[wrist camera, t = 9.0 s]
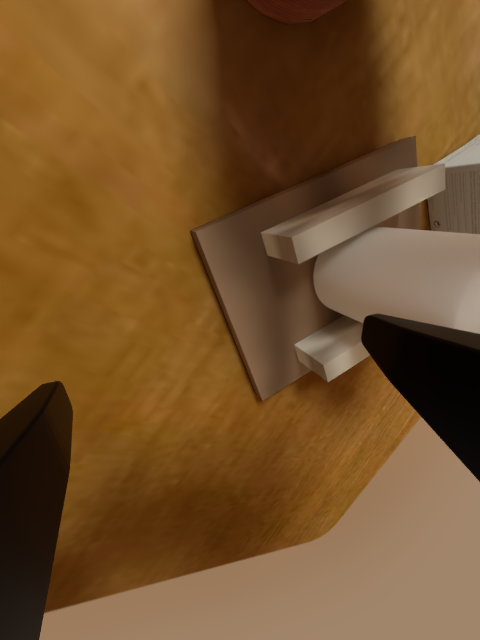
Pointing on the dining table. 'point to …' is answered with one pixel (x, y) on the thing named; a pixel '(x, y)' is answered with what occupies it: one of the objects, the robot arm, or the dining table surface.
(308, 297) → the slot block
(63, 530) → the dining table surface
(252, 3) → the potted plant
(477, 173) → the supplement box
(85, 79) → the dining table surface
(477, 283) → the can
